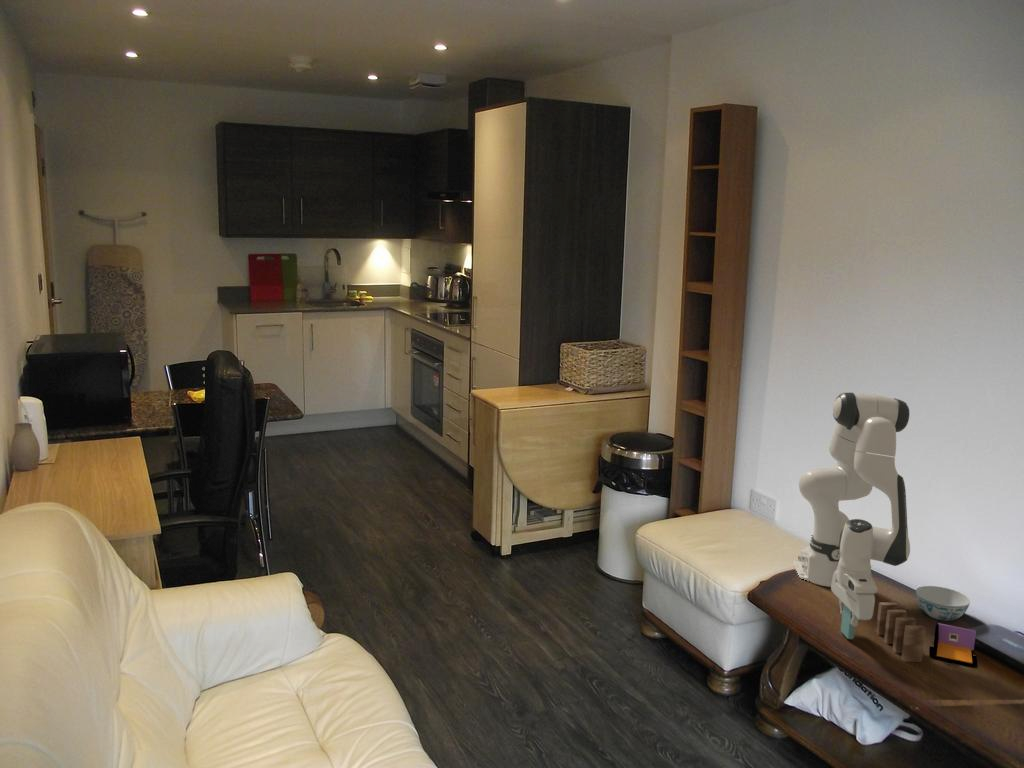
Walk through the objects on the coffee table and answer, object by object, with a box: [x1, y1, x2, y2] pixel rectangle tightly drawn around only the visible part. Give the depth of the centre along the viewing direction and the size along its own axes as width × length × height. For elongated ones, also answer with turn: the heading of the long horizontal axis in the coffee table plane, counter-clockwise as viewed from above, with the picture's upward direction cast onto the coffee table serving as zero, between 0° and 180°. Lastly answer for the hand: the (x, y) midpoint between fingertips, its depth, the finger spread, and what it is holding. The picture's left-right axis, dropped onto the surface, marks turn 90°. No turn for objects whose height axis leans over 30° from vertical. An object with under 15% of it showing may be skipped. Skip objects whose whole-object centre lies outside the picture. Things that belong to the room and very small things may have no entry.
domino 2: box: [875, 601, 899, 636], centre depth 246 cm, size 5×2×10 cm, turn 93°
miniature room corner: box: [928, 622, 978, 669], centre depth 235 cm, size 12×12×7 cm
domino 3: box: [883, 609, 908, 645], centre depth 241 cm, size 5×2×10 cm, turn 93°
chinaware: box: [915, 585, 971, 622], centre depth 258 cm, size 15×15×8 cm
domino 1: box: [840, 605, 856, 640], centre depth 243 cm, size 5×2×10 cm, turn 2°
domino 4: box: [892, 617, 917, 654], centre depth 236 cm, size 5×2×10 cm, turn 93°
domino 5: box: [901, 625, 927, 663], centre depth 231 cm, size 5×2×10 cm, turn 93°
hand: (848, 620), depth 243 cm, fingers closed on domino 1, 5 cm apart
